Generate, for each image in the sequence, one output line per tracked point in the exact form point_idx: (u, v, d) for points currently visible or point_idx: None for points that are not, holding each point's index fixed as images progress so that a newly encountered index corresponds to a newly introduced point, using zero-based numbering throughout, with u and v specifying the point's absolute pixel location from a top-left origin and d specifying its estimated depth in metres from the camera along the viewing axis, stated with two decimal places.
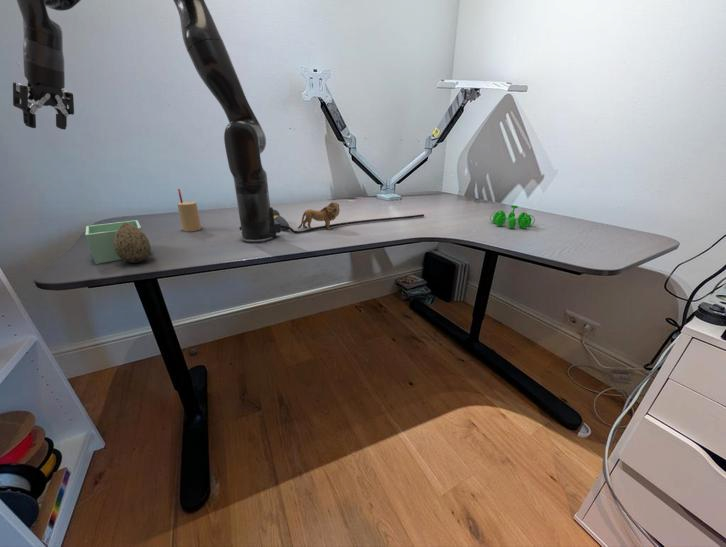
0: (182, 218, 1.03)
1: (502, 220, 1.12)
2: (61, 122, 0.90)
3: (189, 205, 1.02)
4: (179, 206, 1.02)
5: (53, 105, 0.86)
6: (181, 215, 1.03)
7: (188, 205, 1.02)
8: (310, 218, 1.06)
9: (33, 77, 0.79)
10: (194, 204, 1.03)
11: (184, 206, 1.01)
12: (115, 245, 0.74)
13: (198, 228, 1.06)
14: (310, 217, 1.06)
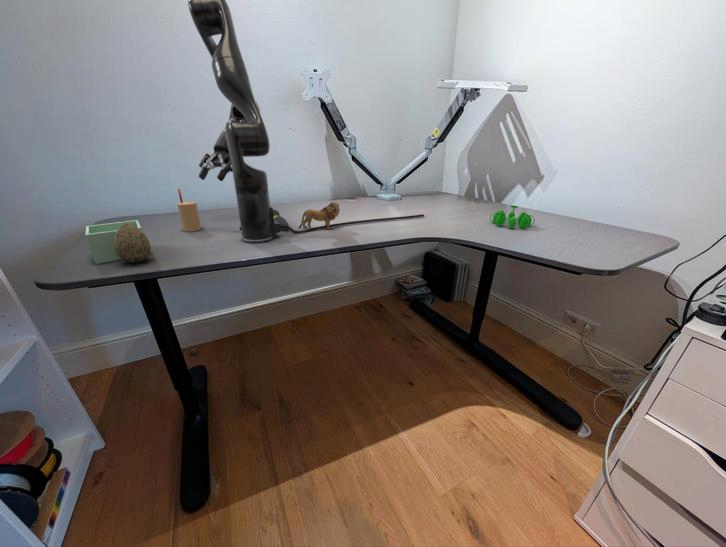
0: (182, 218, 1.03)
1: (502, 220, 1.12)
2: None
3: (189, 205, 1.02)
4: (179, 206, 1.02)
5: (218, 162, 1.12)
6: (181, 215, 1.03)
7: (188, 205, 1.02)
8: (310, 218, 1.06)
9: None
10: (194, 204, 1.03)
11: (184, 206, 1.01)
12: (115, 245, 0.74)
13: (198, 228, 1.06)
14: (310, 217, 1.06)
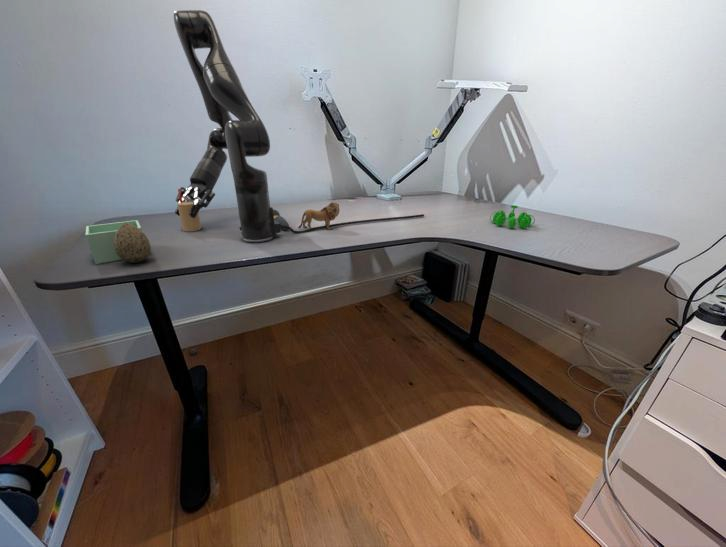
0: (182, 218, 1.03)
1: (502, 220, 1.12)
2: None
3: (189, 205, 1.02)
4: (179, 206, 1.02)
5: (193, 195, 1.05)
6: (181, 215, 1.03)
7: (188, 204, 1.02)
8: (310, 218, 1.06)
9: None
10: (194, 204, 1.03)
11: (184, 206, 1.01)
12: (115, 245, 0.74)
13: (198, 228, 1.06)
14: (310, 217, 1.06)
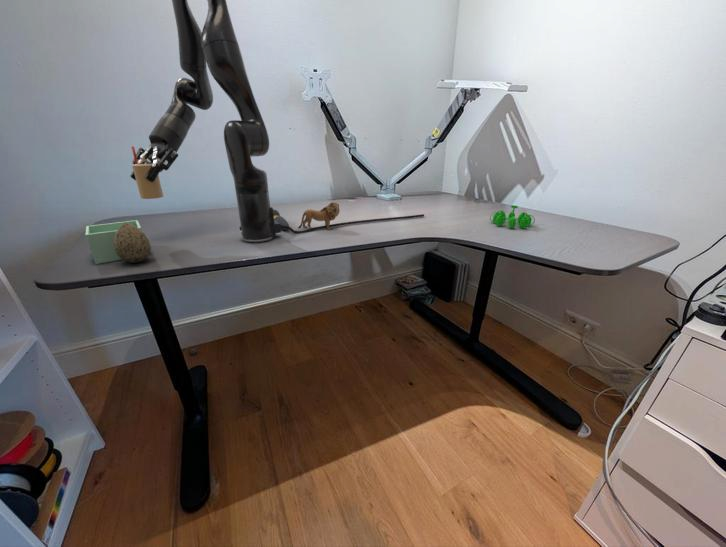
0: (138, 182, 0.87)
1: (502, 220, 1.12)
2: None
3: (146, 166, 0.86)
4: (134, 167, 0.85)
5: (152, 156, 0.89)
6: (137, 179, 0.87)
7: (145, 166, 0.85)
8: (310, 218, 1.06)
9: None
10: (152, 166, 0.87)
11: (139, 167, 0.85)
12: (115, 245, 0.74)
13: (158, 195, 0.90)
14: (310, 217, 1.06)
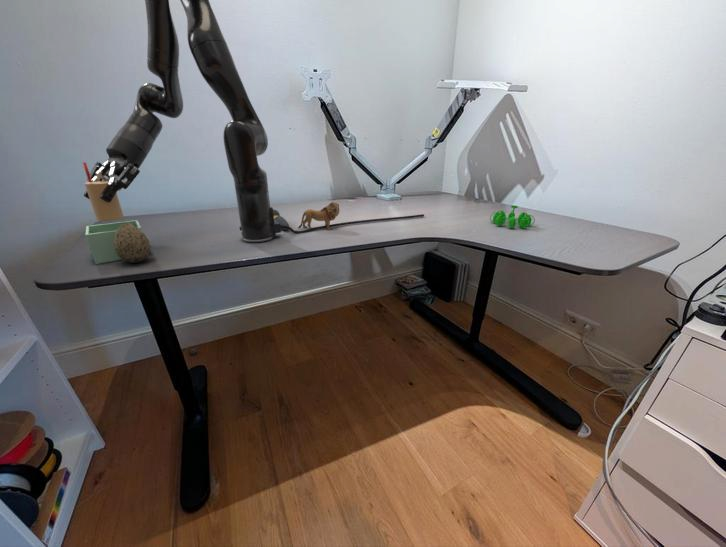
0: (92, 203, 0.76)
1: (502, 220, 1.12)
2: None
3: (100, 185, 0.75)
4: (86, 186, 0.75)
5: (109, 172, 0.78)
6: (91, 199, 0.76)
7: (99, 184, 0.75)
8: (310, 218, 1.06)
9: None
10: None
11: (93, 186, 0.74)
12: (115, 245, 0.74)
13: (117, 217, 0.79)
14: (310, 217, 1.06)
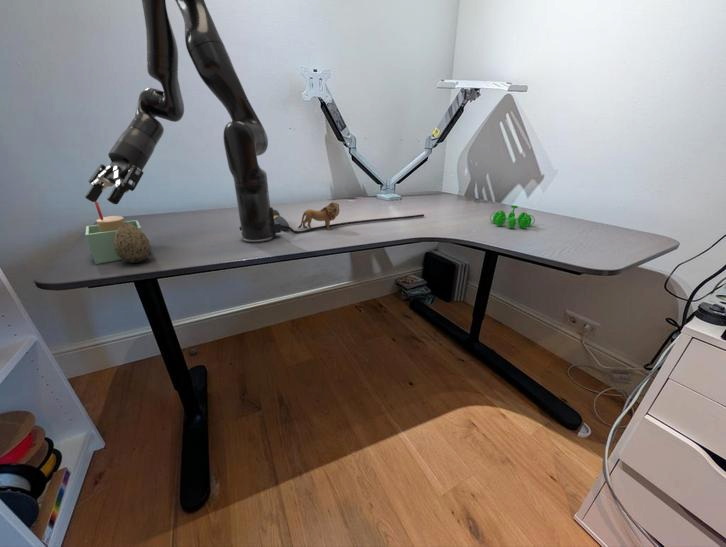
0: None
1: (502, 220, 1.12)
2: None
3: (111, 223, 0.78)
4: (98, 224, 0.78)
5: (112, 177, 0.78)
6: None
7: (110, 222, 0.78)
8: (310, 218, 1.06)
9: None
10: (119, 221, 0.79)
11: (104, 224, 0.78)
12: (115, 245, 0.74)
13: None
14: (310, 217, 1.06)
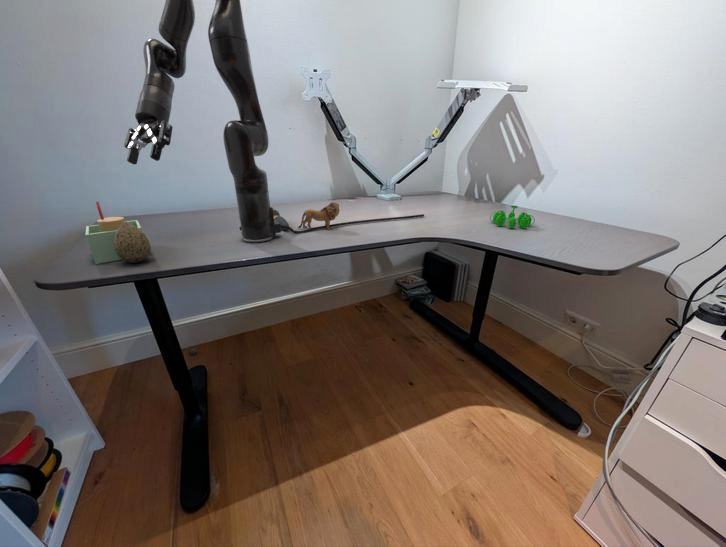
0: None
1: (502, 220, 1.12)
2: None
3: (112, 222, 0.78)
4: (99, 223, 0.78)
5: (146, 136, 0.84)
6: None
7: (111, 222, 0.78)
8: (310, 218, 1.06)
9: None
10: (120, 221, 0.80)
11: (105, 224, 0.78)
12: (115, 245, 0.74)
13: None
14: (310, 217, 1.06)
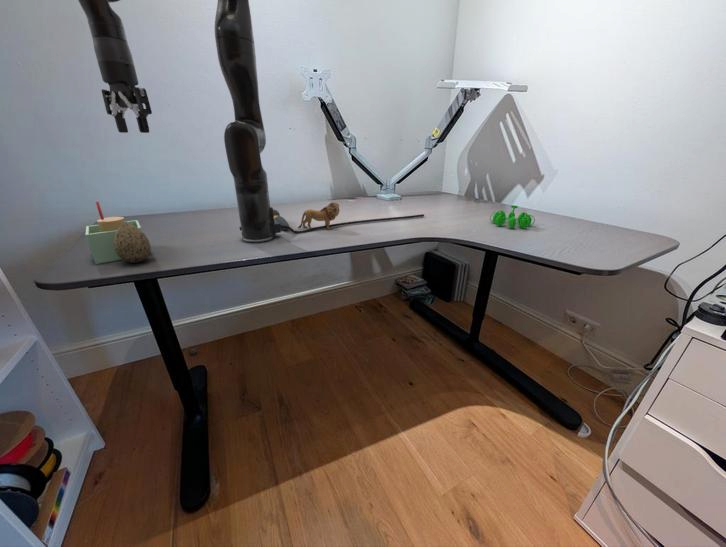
0: None
1: (502, 220, 1.12)
2: None
3: (112, 222, 0.78)
4: (99, 223, 0.78)
5: (126, 105, 0.81)
6: None
7: (111, 222, 0.78)
8: (310, 218, 1.06)
9: None
10: (120, 221, 0.80)
11: (105, 224, 0.78)
12: (115, 245, 0.74)
13: None
14: (310, 217, 1.06)
